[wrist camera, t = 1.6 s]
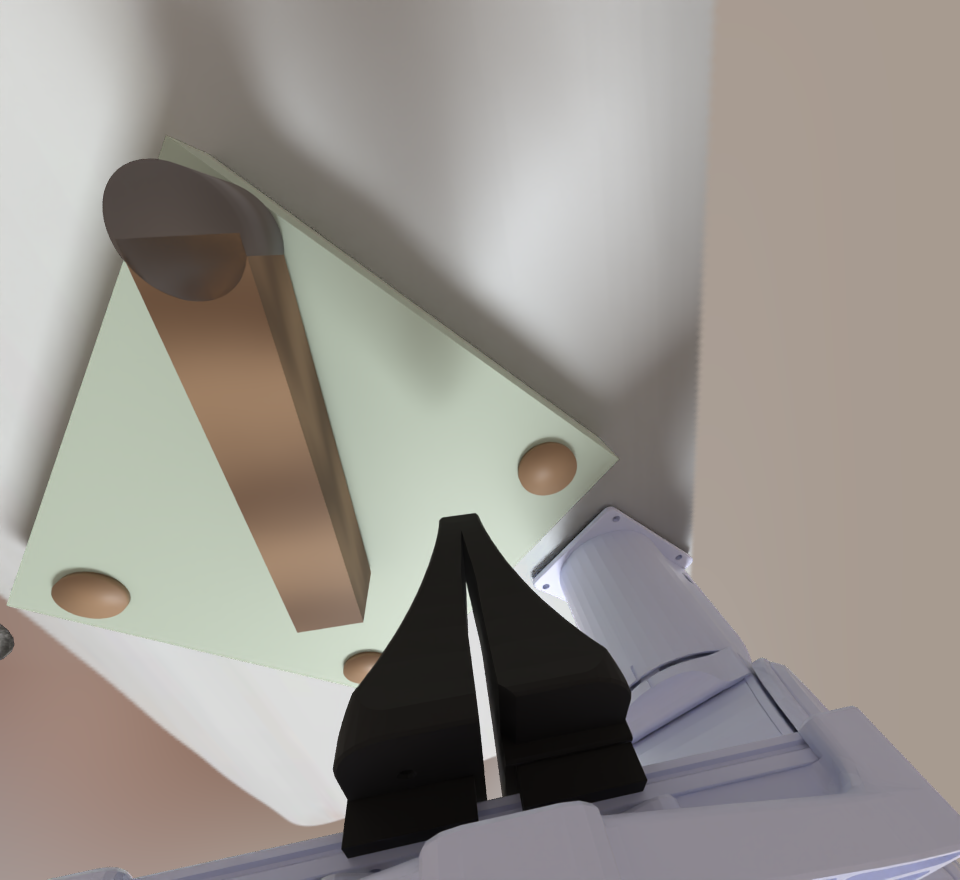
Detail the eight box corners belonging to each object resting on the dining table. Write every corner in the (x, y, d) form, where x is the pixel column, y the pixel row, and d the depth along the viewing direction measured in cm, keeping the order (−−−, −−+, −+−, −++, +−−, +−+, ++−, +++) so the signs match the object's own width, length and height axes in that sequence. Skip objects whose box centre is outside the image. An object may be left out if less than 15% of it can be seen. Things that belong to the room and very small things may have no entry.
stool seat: (598, 437, 21) (622, 462, 18) (391, 660, 28) (388, 700, 25) (209, 154, 13) (159, 131, 10) (52, 566, 20) (-1, 610, 17)
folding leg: (156, 181, 11) (73, 160, 8) (266, 177, 11) (219, 156, 9) (312, 581, 19) (295, 633, 17) (372, 572, 20) (365, 622, 17)
